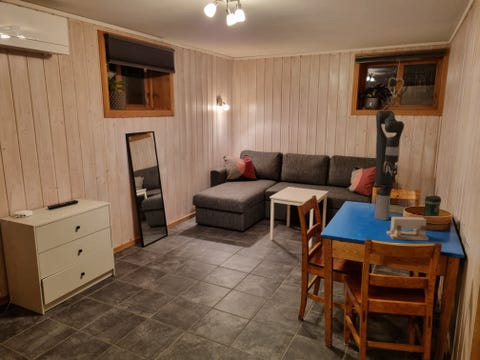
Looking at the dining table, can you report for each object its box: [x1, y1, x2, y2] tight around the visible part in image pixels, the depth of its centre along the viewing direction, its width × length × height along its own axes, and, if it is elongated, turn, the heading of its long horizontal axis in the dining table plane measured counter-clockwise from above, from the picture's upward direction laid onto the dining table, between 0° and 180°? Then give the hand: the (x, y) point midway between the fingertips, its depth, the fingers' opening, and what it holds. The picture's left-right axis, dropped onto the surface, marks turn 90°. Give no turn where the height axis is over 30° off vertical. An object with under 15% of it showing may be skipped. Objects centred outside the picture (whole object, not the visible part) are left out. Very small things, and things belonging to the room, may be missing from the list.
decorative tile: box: [389, 204, 406, 217], centre depth 258 cm, size 19×20×4 cm
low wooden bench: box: [386, 226, 430, 241], centre depth 203 cm, size 11×20×8 cm, turn 87°
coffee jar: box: [423, 195, 442, 217], centre depth 230 cm, size 10×8×19 cm
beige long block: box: [390, 216, 427, 230], centre depth 203 cm, size 5×18×6 cm, turn 85°
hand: (389, 180), depth 211 cm, fingers open, 8 cm apart
